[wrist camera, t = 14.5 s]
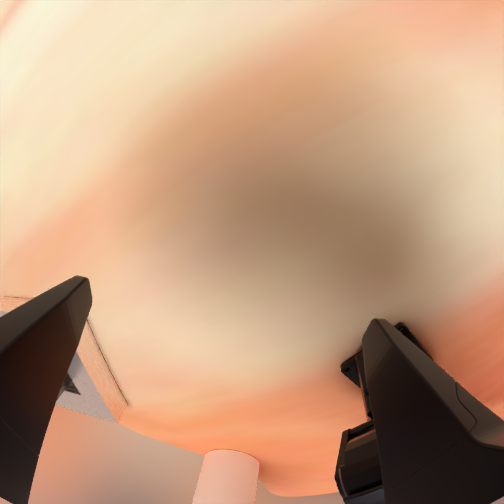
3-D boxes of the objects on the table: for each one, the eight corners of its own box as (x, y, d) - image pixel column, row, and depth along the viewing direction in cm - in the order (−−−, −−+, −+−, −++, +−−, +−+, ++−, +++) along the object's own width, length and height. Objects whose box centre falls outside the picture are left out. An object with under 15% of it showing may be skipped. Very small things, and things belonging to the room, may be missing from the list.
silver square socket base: (79, 301, 24) (61, 318, 21) (127, 404, 29) (117, 422, 26) (4, 296, 26) (-12, 308, 23) (49, 384, 31) (38, 398, 28)
